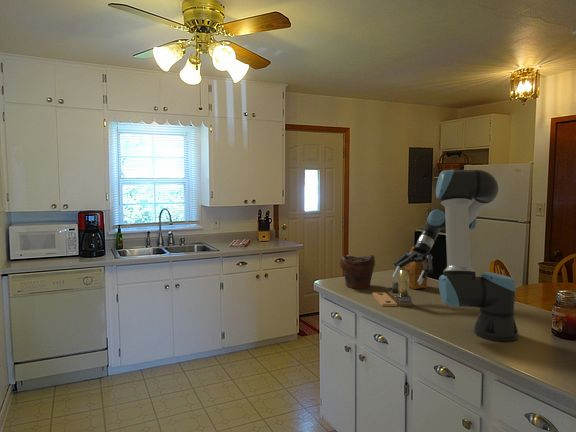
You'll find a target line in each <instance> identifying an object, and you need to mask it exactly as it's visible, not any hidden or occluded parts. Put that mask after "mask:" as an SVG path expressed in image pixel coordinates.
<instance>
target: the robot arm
mask: <svg viewBox="0 0 576 432" xmlns="http://www.w3.org/2000/svg"><path fill="white" fill-rule="evenodd" d="M498 193H499V184H498V181H497V179H496V178H495V177H494V176H493V174H491V173H490V172H488V171H485V170H483V169H445V170H444V169H443V170H442V171H441V172H440V173H439V175H438V179H437V181H436V187H435V196H436V197H435V198H436V199H438V200H440V205H441V206H443V207H444V211H445V212H444V211H442V210H440V209H433V210H432V211H431V212H429V214H428V216H427V218H426V222H425V224H424V227H423V230H422V231H421V234H420V235H419V237H418V239H417V241H416V244H415V245H414V249H413V252H412V253H410V251H409V250H406V251H405V253H404V254H403V255H401V256H400V257H399V258H398V259H397V260H396V261H394V262H393V265H394V269H393V274H392V279H393V280H395V281H396V280H397V278H398V276H399V275H400V270H402V268H403V267H406V265H407V264H408V263H410V262H413V261H414V262H418V263H420V262H422V265H423V267H424V270H425V271H424V270H423V271H422V273H421V275H420V277H419V279H418V281H417V282H418V283H419V285H421V284H422V282H423V280H424V279H425V278H426V277H427V278H428V274H433V273H434V266H433V259H434V257H433V255H432V253H430V252H431V250H432V248H433V246H434V244H435V242H436V240H437V237H438V236H439V235H440V232H441V230H445V240H446V241H445V242H446V243H445V244H446V246H445V247H446V267H445V269H443V272H442V273H443V274H441V275H440V276H439V277H438V290H439V295H440V298H441V300H442V303H444V305H446V306H448V307H456V308H460V307H461V308H479V314H478V316H477V319H476V321H475V323H474V326H473V332H474V333H475V335H477V336H478V337H480V338H482V339H486V340H490V341H494V342H507V343H509V342H514V341H517V340H518V338H519V331H518V327H517V324H516V320H515V316H514V315H515V302H516V300H515V299H516V292H517V290H516V281H515V279H513V278H512V277H510V276H509V275H504V274H501V273H497V272H496V273H495V272H489V271H485V272H484V271H483V272H481V274H480V276H477V274H476V270H475V269H474V268H473V267H472V262H471V260H472V259H471V247H470V246H471V243H470V237H471V236H470V230H474V229H475V228H476V225H477V217H478V215H480V213H481V212H482V210H483V209H484V208H485V207H486V205H488V204H490V203H492V202H493V201H494V200H495V199H496V198H497V195H498ZM411 258H412V260H411ZM425 259H426V260H427V262H428V267H426V264H425V262H424V260H425Z"/></svg>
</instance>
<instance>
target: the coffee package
mask: <svg viewBox="0 0 576 432" xmlns="http://www.w3.org/2000/svg"><path fill="white" fill-rule="evenodd" d="M414 247H415V245H414V246H411V248H410V250H409V252H410V253H412V252H413V249H414ZM411 260H412V258H411ZM424 262H425V264H426V267H427V268H429V266H428V259H427V258H426V259H425V260H424ZM404 270H409V289H413V290H417V289H426V288H428V287H427V286H428V276H427V277H426V278H425V279H424V280H423V282H422V284H421V285H419V283H418V282H417V281H418V279H419V277H420V275H421V273H422V271H423V270H424V267H423V265H422V262H420V263H418V262H414V261H413V262H410V263H408V264H407V265H405V269H404ZM424 271H425V270H424Z"/></svg>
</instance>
